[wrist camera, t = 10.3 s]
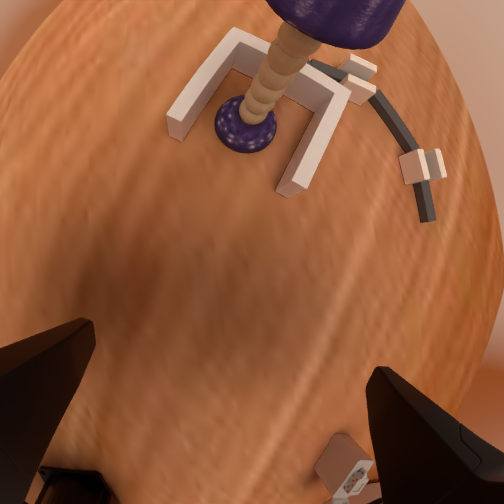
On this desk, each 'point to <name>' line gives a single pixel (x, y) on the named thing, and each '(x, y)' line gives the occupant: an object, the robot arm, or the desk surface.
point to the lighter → (343, 468)
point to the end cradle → (300, 90)
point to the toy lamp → (299, 60)
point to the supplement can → (367, 495)
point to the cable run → (399, 133)
